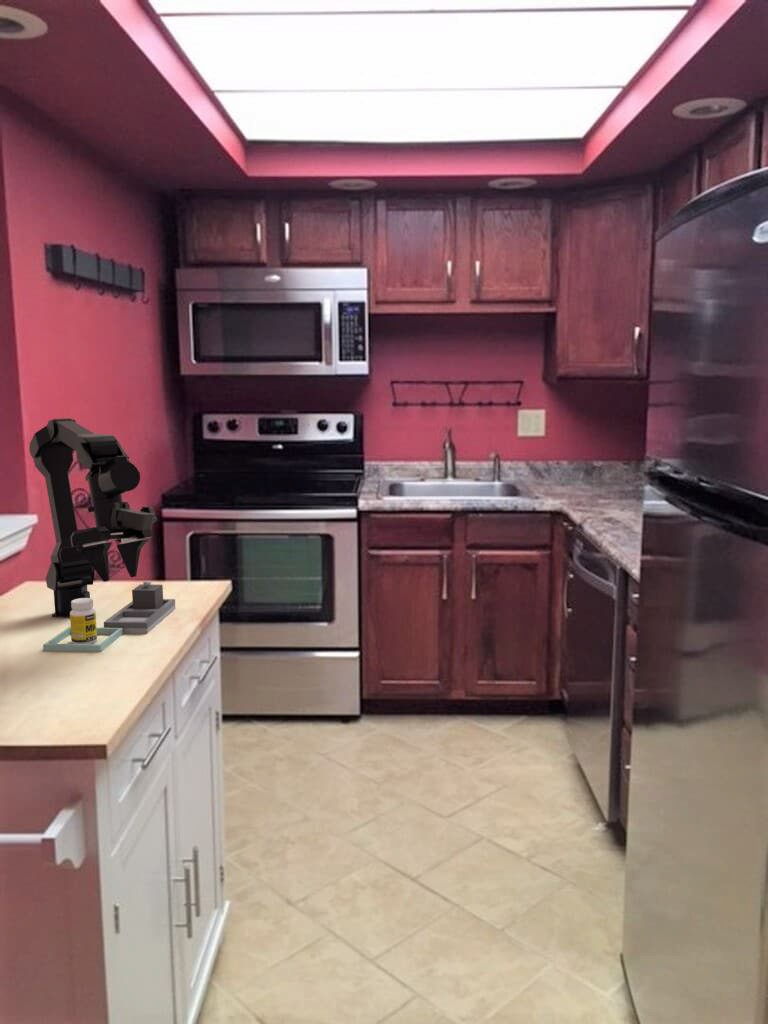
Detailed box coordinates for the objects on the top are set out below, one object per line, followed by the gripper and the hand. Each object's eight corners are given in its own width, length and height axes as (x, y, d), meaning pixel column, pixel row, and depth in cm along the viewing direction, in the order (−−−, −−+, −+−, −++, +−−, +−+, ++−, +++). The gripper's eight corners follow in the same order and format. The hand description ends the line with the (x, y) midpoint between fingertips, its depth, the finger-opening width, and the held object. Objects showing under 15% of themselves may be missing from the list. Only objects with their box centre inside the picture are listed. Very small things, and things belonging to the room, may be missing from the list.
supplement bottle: (88, 646, 162) (86, 604, 160) (66, 645, 163) (63, 603, 161) (102, 638, 166) (99, 597, 165) (80, 637, 167) (77, 596, 166)
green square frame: (43, 650, 159) (43, 644, 159) (69, 632, 170) (68, 626, 170) (101, 651, 159) (100, 645, 158) (123, 633, 170) (122, 627, 169)
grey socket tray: (104, 632, 170) (103, 622, 170) (136, 608, 188) (135, 598, 188) (147, 633, 170) (147, 622, 169) (175, 608, 187) (175, 599, 187)
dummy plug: (133, 612, 181) (131, 584, 180) (141, 606, 186) (140, 579, 185) (156, 613, 180) (154, 585, 179) (163, 606, 185) (162, 579, 184)
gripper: (114, 491, 152) (129, 576, 151) (168, 492, 170) (181, 568, 169) (62, 502, 155) (76, 586, 154) (120, 502, 173) (133, 577, 172)
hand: (120, 579), depth 162 cm, fingers open, 9 cm apart
